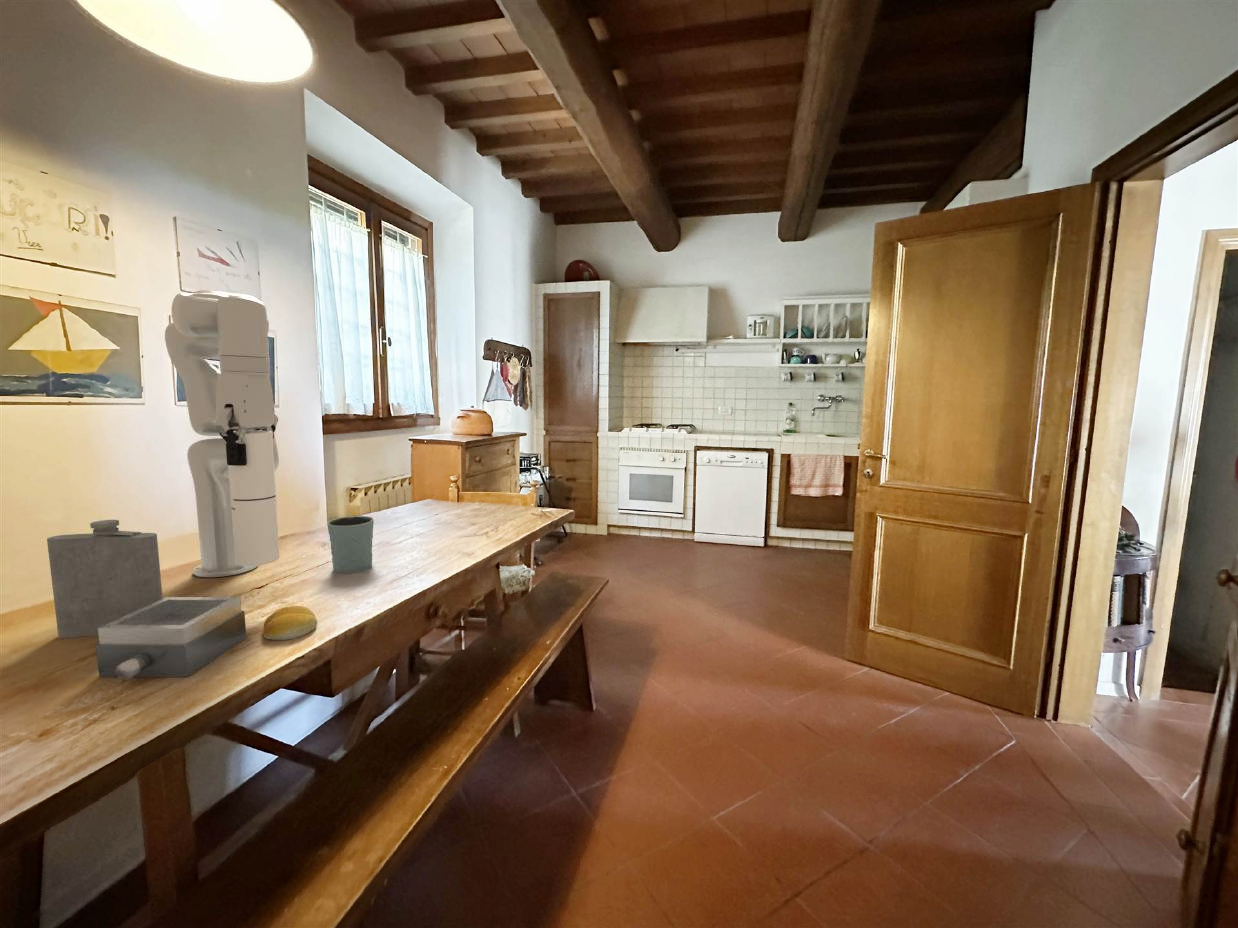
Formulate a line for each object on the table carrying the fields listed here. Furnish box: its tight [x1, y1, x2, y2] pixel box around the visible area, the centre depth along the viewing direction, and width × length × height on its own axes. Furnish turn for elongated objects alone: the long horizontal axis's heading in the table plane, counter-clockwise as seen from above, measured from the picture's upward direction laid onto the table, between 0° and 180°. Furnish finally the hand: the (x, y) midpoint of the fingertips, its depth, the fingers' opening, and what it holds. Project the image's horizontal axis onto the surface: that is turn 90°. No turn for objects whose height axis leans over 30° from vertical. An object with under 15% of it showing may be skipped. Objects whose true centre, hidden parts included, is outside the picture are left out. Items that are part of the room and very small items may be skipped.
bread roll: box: [262, 605, 318, 641], centre depth 95 cm, size 8×9×4 cm
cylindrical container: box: [228, 430, 281, 567], centre depth 101 cm, size 7×7×25 cm
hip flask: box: [46, 519, 164, 640], centre depth 93 cm, size 16×4×20 cm, turn 99°
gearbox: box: [95, 596, 247, 681], centre depth 84 cm, size 16×13×8 cm
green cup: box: [327, 515, 375, 574], centre depth 130 cm, size 10×10×12 cm
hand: (251, 461), depth 100 cm, fingers closed on cylindrical container, 7 cm apart
